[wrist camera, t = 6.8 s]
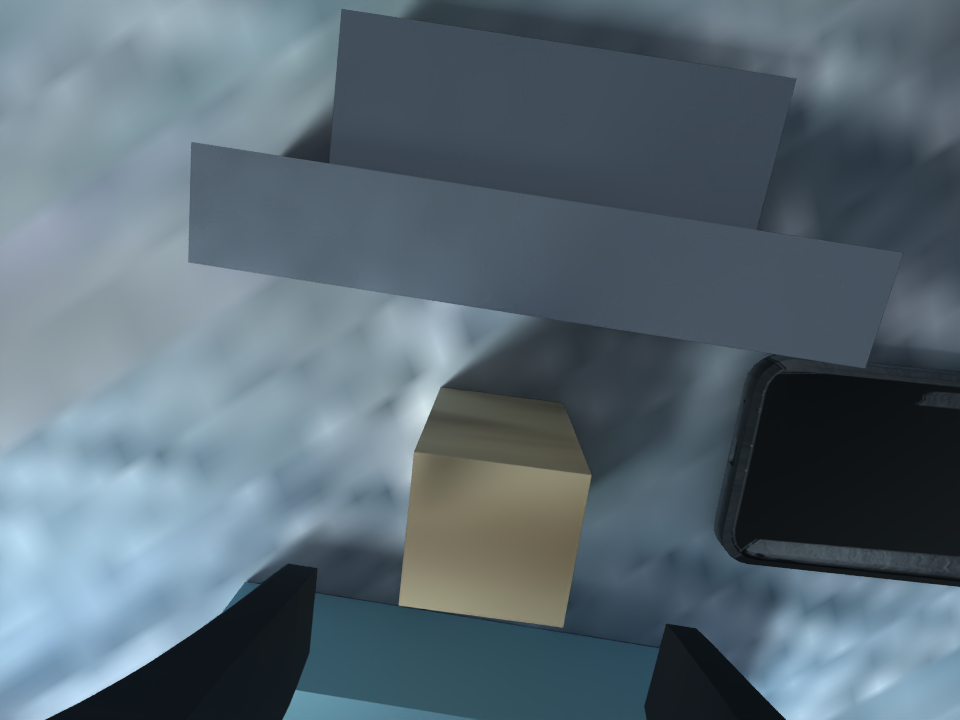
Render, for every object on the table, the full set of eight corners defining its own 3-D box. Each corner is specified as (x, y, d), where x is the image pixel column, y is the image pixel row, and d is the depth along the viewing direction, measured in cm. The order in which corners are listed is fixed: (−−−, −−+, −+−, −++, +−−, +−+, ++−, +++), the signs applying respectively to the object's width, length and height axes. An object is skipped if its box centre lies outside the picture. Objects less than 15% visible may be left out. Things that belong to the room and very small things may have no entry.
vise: (776, 337, 18) (865, 368, 14) (264, 257, 18) (188, 262, 14) (838, 122, 16) (960, 78, 12) (276, 35, 17) (196, -39, 12)
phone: (1131, 605, 19) (717, 561, 19) (1096, 585, 20) (705, 544, 20) (1219, 398, 17) (762, 352, 17) (1176, 388, 18) (747, 345, 19)
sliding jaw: (664, 732, 22) (704, 855, 17) (240, 664, 22) (175, 769, 18) (687, 652, 21) (736, 761, 17) (245, 581, 21) (177, 671, 17)
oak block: (544, 514, 20) (563, 627, 14) (428, 499, 20) (398, 605, 14) (563, 402, 19) (591, 475, 13) (441, 386, 19) (414, 452, 13)
